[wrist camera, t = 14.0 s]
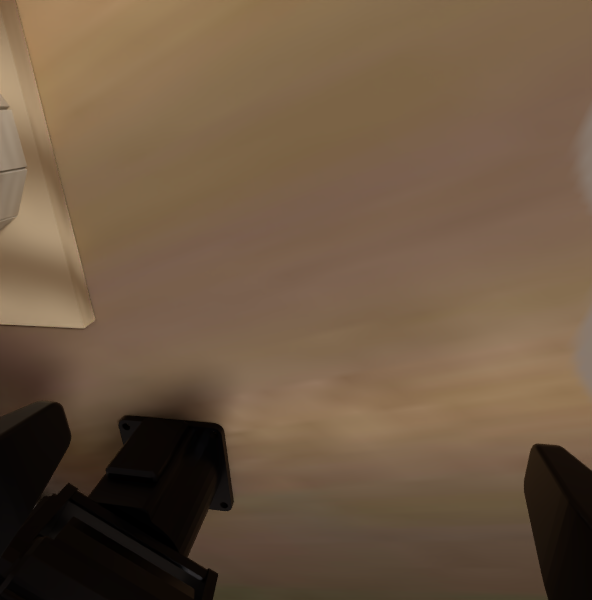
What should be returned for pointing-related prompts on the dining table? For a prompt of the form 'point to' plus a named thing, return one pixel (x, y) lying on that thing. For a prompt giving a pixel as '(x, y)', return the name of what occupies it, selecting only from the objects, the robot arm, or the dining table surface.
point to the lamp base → (33, 202)
